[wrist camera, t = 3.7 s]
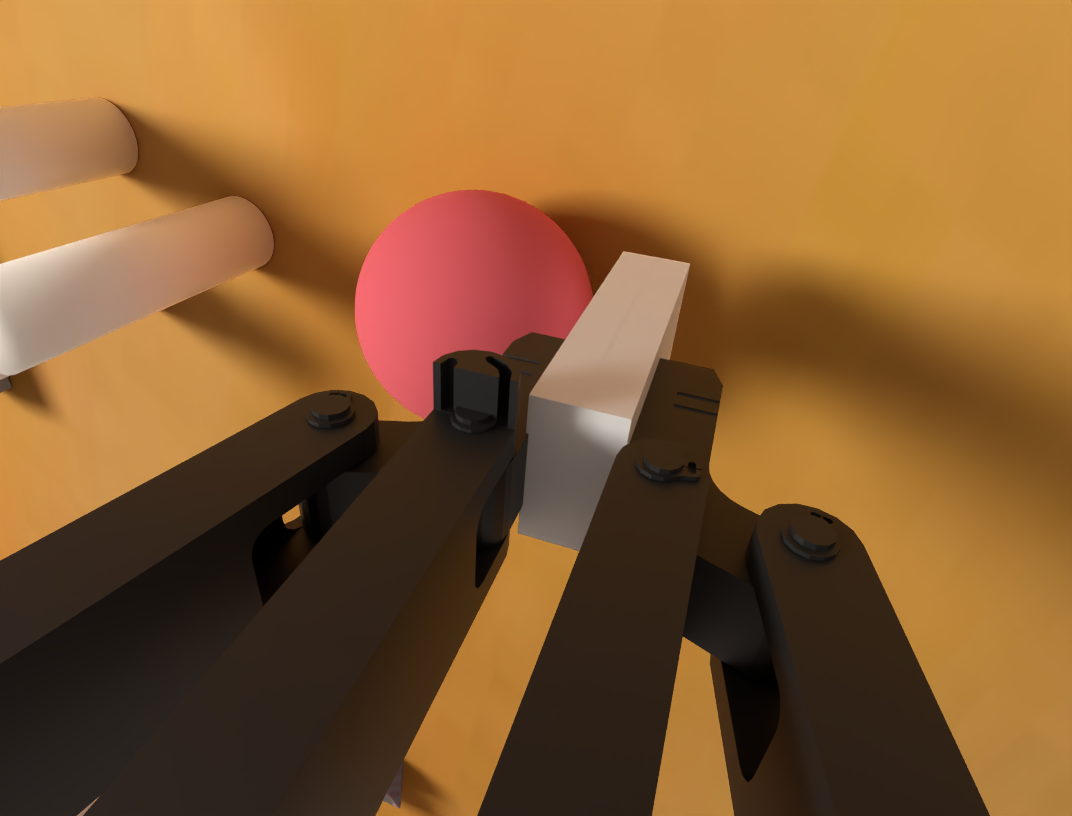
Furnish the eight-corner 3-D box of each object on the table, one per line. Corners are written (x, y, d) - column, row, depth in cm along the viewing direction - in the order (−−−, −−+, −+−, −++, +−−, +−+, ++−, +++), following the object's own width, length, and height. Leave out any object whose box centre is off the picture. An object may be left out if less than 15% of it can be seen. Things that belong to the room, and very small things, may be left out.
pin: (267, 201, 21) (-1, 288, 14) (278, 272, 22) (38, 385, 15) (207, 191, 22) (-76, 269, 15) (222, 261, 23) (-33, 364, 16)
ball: (508, 251, 12) (292, 179, 14) (484, 512, 15) (309, 412, 17) (656, 206, 16) (470, 158, 19) (614, 414, 19) (459, 346, 22)
